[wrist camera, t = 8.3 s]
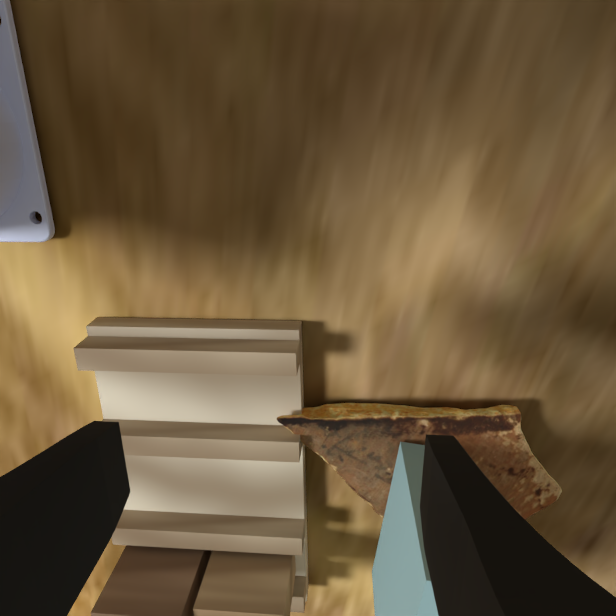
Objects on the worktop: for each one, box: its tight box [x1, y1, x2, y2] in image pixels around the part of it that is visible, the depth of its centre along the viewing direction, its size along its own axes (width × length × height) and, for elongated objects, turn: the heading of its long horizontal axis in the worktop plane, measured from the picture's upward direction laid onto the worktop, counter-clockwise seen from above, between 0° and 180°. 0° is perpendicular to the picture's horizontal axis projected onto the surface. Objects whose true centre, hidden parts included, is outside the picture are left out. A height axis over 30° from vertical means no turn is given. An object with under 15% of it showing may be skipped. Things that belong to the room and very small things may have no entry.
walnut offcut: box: [91, 545, 211, 616], centre depth 24 cm, size 2×4×4 cm, turn 91°
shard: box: [277, 403, 562, 519], centre depth 22 cm, size 11×8×2 cm
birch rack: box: [74, 317, 309, 613], centre depth 24 cm, size 15×9×2 cm, turn 1°
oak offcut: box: [193, 550, 296, 616], centre depth 24 cm, size 2×4×4 cm, turn 91°
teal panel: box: [372, 442, 439, 616], centre depth 19 cm, size 2×7×7 cm, turn 173°
